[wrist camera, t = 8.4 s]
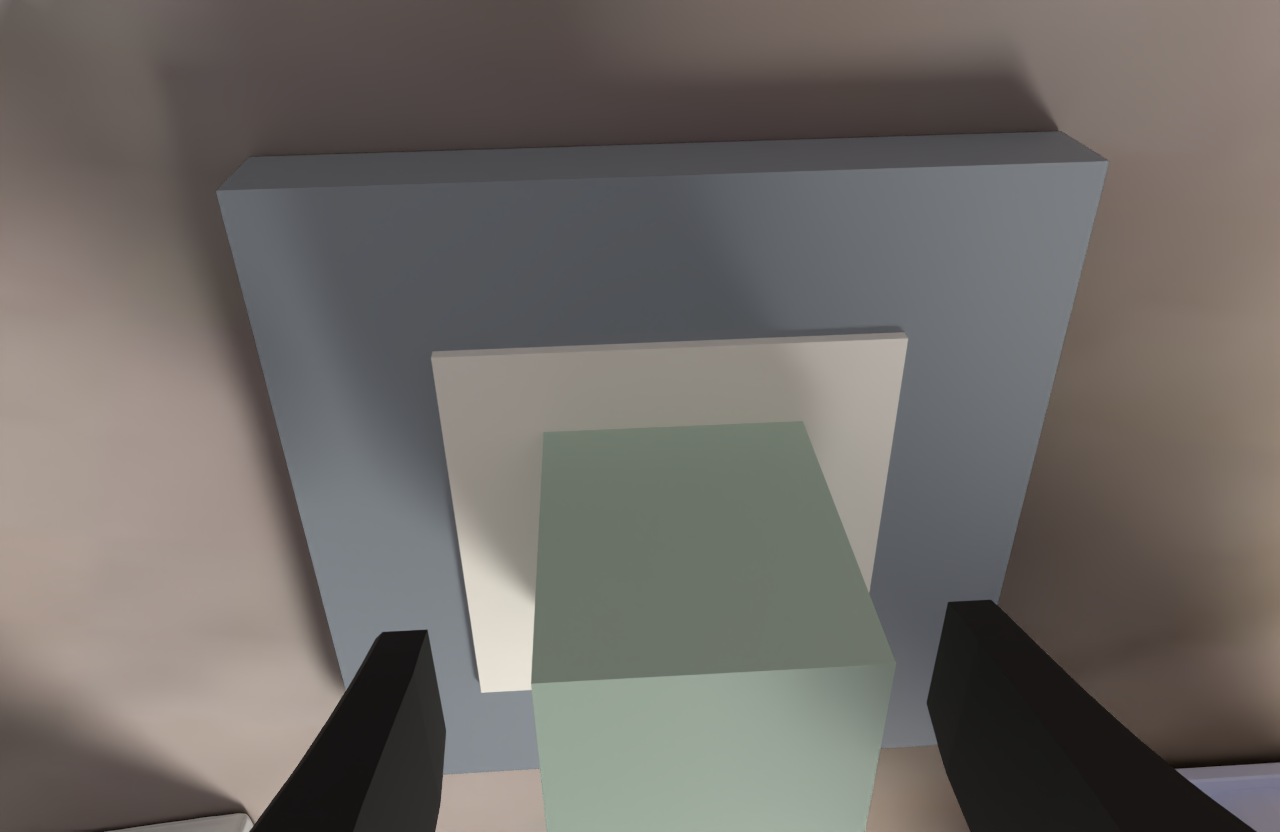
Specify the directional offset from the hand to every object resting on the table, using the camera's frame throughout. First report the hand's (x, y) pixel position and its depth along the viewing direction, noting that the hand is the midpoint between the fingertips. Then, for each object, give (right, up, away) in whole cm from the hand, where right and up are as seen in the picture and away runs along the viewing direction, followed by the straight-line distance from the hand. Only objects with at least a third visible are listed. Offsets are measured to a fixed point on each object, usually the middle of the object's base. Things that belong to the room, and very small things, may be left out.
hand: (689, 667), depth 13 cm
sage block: (0, +2, +2) cm, 3 cm away
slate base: (0, +2, +4) cm, 5 cm away
